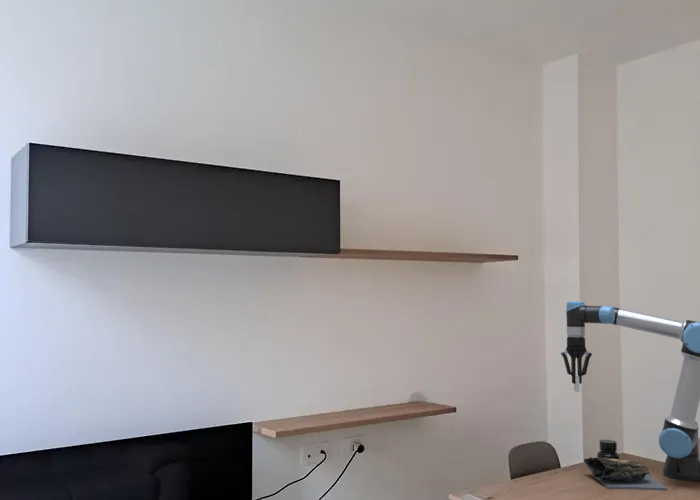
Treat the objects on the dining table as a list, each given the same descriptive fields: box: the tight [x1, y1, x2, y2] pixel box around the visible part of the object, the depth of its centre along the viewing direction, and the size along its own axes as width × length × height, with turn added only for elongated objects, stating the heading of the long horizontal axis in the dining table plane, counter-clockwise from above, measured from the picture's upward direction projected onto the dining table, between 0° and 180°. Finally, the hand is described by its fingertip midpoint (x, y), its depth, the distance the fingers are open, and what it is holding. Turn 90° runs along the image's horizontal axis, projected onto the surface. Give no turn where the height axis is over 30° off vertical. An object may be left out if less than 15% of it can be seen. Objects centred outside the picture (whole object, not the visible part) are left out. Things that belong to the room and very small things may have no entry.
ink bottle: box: [596, 439, 621, 459], centre depth 270 cm, size 10×9×12 cm
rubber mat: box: [597, 474, 668, 491], centre depth 251 cm, size 22×19×1 cm
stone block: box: [583, 457, 650, 482], centre depth 254 cm, size 18×9×20 cm
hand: (576, 391), depth 275 cm, fingers closed
